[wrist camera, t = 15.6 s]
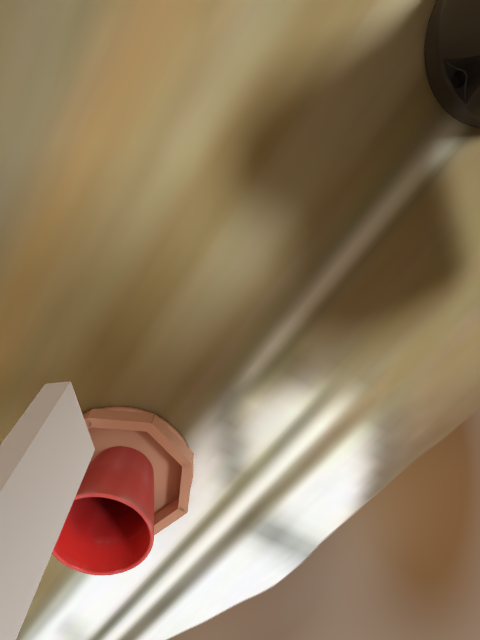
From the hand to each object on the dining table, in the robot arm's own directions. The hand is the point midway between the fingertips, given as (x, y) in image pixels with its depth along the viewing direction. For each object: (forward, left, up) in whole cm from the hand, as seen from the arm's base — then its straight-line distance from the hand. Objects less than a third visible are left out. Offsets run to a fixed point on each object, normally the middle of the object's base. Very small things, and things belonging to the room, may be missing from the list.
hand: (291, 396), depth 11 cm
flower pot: (+11, +28, -30) cm, 42 cm away
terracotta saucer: (+12, +28, -30) cm, 43 cm away
